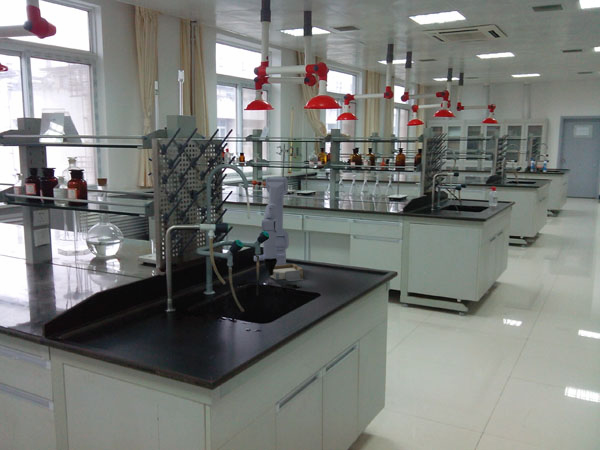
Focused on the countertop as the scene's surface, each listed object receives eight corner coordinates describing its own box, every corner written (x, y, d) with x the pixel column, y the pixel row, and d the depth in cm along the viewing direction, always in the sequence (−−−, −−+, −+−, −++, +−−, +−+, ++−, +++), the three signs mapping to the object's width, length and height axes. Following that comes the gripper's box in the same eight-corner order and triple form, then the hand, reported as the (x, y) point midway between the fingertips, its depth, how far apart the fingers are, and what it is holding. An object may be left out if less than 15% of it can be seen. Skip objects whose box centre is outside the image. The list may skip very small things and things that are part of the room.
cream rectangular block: (270, 276, 237) (270, 269, 237) (292, 273, 241) (292, 267, 241) (275, 280, 231) (275, 273, 230) (298, 277, 235) (298, 271, 234)
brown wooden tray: (269, 274, 239) (269, 266, 239) (294, 272, 244) (294, 263, 243) (277, 280, 229) (277, 271, 229) (302, 277, 234) (302, 268, 233)
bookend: (285, 279, 231) (285, 271, 231) (299, 277, 234) (299, 269, 233) (288, 281, 228) (288, 273, 227) (303, 279, 230) (303, 272, 230)
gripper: (256, 248, 225) (257, 279, 227) (288, 245, 230) (288, 275, 232) (252, 245, 231) (252, 275, 233) (282, 243, 237) (283, 272, 239)
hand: (270, 275), depth 233 cm, fingers closed
